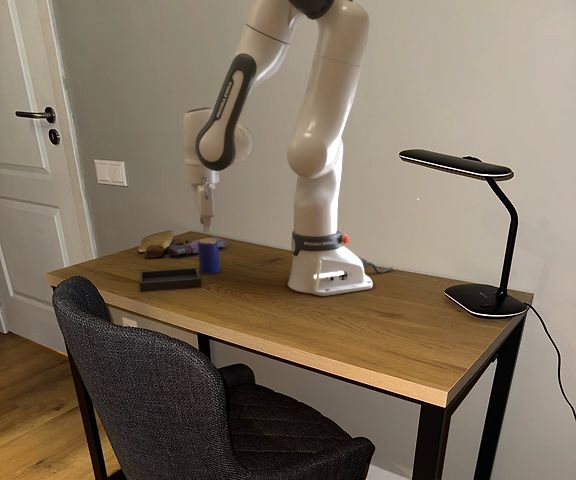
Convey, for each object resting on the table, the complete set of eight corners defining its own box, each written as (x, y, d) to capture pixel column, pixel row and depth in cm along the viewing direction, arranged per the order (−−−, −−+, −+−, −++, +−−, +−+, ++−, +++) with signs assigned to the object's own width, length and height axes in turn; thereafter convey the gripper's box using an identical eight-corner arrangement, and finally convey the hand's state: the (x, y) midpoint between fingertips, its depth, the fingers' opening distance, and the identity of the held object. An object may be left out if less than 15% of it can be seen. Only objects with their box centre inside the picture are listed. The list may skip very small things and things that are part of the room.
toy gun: (208, 243, 194) (226, 249, 188) (158, 253, 182) (175, 259, 176) (208, 231, 193) (226, 236, 186) (157, 240, 181) (174, 246, 174)
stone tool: (173, 256, 177) (177, 237, 199) (170, 242, 175) (175, 225, 197) (136, 262, 177) (144, 243, 199) (132, 249, 175) (141, 231, 197)
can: (218, 268, 168) (216, 237, 164) (220, 273, 163) (218, 242, 159) (199, 269, 167) (196, 238, 163) (200, 275, 162) (198, 243, 158)
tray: (197, 275, 162) (197, 267, 161) (201, 287, 153) (200, 278, 152) (140, 279, 159) (139, 271, 158) (140, 291, 150) (139, 283, 149)
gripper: (218, 181, 144) (221, 236, 151) (210, 169, 162) (212, 219, 169) (193, 181, 143) (196, 237, 150) (187, 169, 161) (191, 220, 167)
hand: (205, 227), depth 159 cm, fingers open, 8 cm apart
